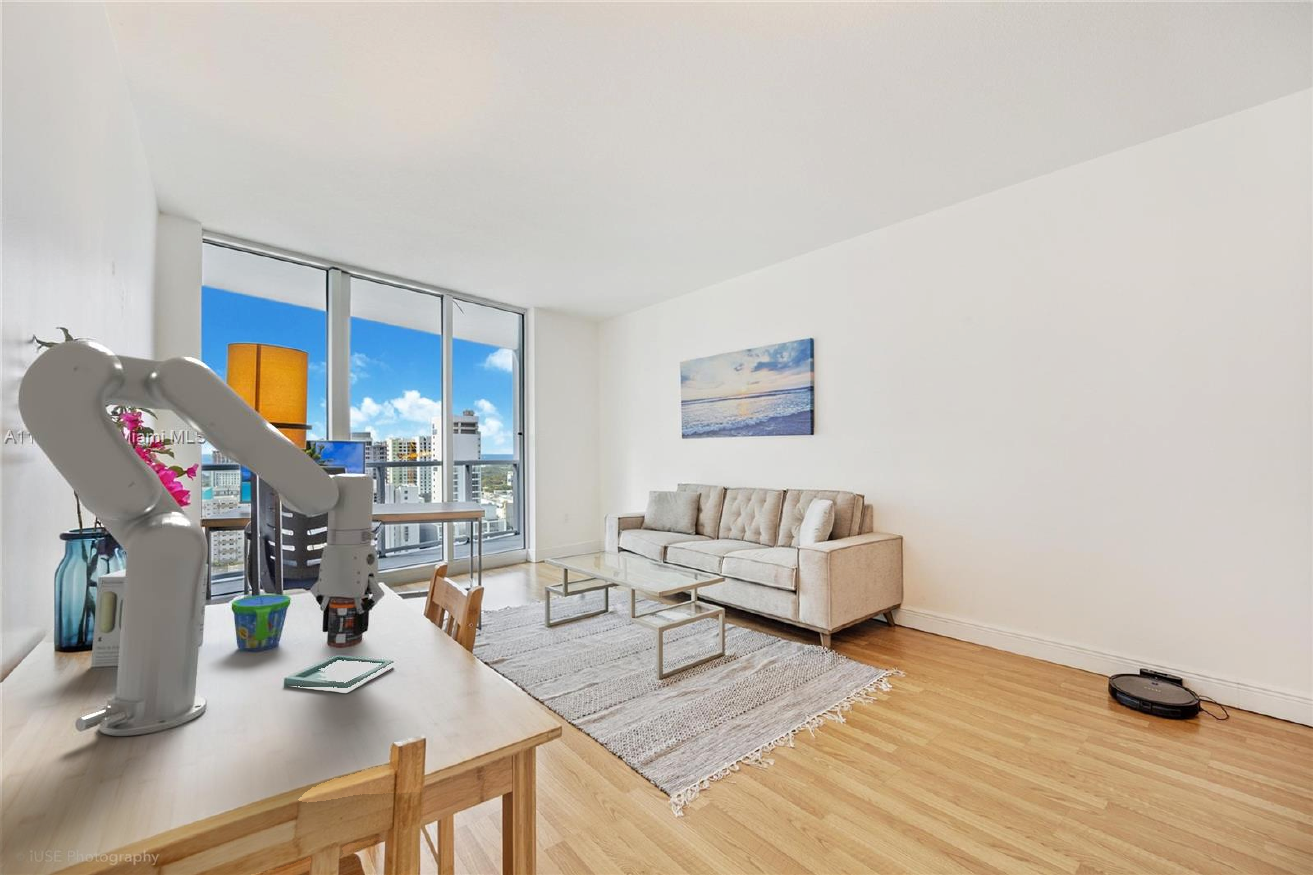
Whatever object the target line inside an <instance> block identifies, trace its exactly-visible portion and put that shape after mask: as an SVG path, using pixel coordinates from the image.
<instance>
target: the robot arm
mask: <svg viewBox="0 0 1313 875" xmlns="http://www.w3.org/2000/svg"><path fill="white" fill-rule="evenodd" d="M17 397H18V400H17V401H18V409H19V413H20V416H21V420H22V422H23V424H24V426H25V428H26V430H27V431H28V433H29V435H30V436H31V438H33V440H34V441H35V443H36V444H37V445H38V447H39V448H40V449H41V451H42V452H43V453H44V454H45V455H46V456H47V457H46V458H48V460H50V462H51V463H52V465H53V466H54V468H55V469H56V470H57V471H58V472H59V473H60V474H61V476H62V477H63V478H64V479H65V481H66V482H67V483H68V485H69V486H70V487H71V488H72V489H73V492H74V493H75V494H76V495H77V497H78V499H79V501H80V502H81V504H82V506H83V507H84V508H85V509H86V511H88V512H90V514H93V515H94V516H95V517H96V518H97V520H98V521H99V522H100V523H101V525H102V526H104V528H105V529H106V530H107V532H108V533H109V534H110V535H111V536H112V537H113V539H114V540H115V541H116V542H117V543H118V544H119V546H120V547H122V549H123V550H124V551H125V553H126V554H125V555H126V557H125V569H126V573H125V584H124V595H123V606H122V619H121V636H120V648H119V661H118V666H117V673H116V674H117V676H116V686H115V687H116V688H115V696H113V697H110V698H107V701H106V706H104V707H102V708H101V709H100V710H99V711H97V712H92V713H89V714H86V715H83V716H80V717H78V718H77V719H76V721H75V723H74V726H75V729H76V730H77V731H78V732H80V733H81V732H84V731H86V730H89V729H91V728H95V727H96V726H98V725H99V727H98V728H99V731H100V732H101V733H102V734H105V735H107V736H114V737H115V736H116V737H127V736H129V737H130V736H138V735H145V734H150V733H155V732H160V731H164V730H168V729H171V728H174V727H177V726H180V725H183V724H185V723H187V722H190V721H191V720H194V719H195V718H197V717H198V716H201V715H202V714H203V713H204V712H205V711H206V709H207V705H208V704H207V699H206V697H204V696H201V695H198V694H196V689H197V688H196V687H197V676H198V675H197V674H198V661H199V660H198V659H199V648H200V645H199V635H200V621H201V604H202V592H203V582H204V575H205V569H206V564H207V563H208V562H207V561H208V554H209V553H208V552H209V549H208V548H209V545H208V540H207V536H206V534H205V532H204V531H203V529H202V528H201V527H200V526H199V524H197V523H196V522H195V521H194V520H192V519H191V518H190V517H189V515H188V514H187V513H186V512H185V511H184V510H183V507H181V506H180V504H179V502H177V500H176V499H175V498H174V496H173V495H172V494H171V493H170V492H169V490H168V489H167V488H166V486H165V485H164V484H163V483H162V482H163V481H161V479H160V477H159V475H158V473H157V472H156V471H155V470H154V469H153V467H151V466H150V465H149V464H147V463H146V462H145V461H144V459H143V458H142V457H141V456H140V455H139V454H138V452H137V451H136V450H135V448H134V447H133V446H132V445H131V444H130V442H129V441H128V440H127V439H126V436H124V434H123V433H122V431H121V430H120V428H119V427H118V426H117V424H116V423H115V422H114V420H113V419H112V418H111V416H110V415H109V413H108V410H107V405H109V406H119V407H127V408H129V407H130V408H138V409H139V408H140V409H152V410H164V411H165V410H167V411H171V412H173V413H174V414H175V415H176V416H177V417H178V418H180V420H182V421H184V423H186V425H188V426H189V427H190V428H191V429H192V430H194V431H195V432H196V433H197V434H198V435H200V437H202V438H203V439H204V440H205V441H206V442H207V443H208V444H210V446H212V447H213V448H214V449H215V450H216V451H218V453H220V454H222V455H223V456H224V457H226V458H228V459H229V460H230V461H232V462H234V463H236V464H238V465H240V466H241V467H244V468H246V469H247V470H249V471H251V472H252V473H254V475H256V476H258V477H259V478H261V480H263V481H264V482H266V484H268V486H270V487H271V488H272V489H274V490H275V491H276V492H277V493H278V494H277V495H278V498H279V501H280V503H281V504H282V505H283V506H284V507H285V508H287V509H289V510H290V511H293V512H295V513H298V514H302V515H305V516H309V517H315V516H316V517H318V516H321V515H325V514H327V513H328V514H327V515H328V516H327V535H326V539H327V540H326V544H324V547H323V549H322V554H321V558H320V564H319V571H318V572H319V573H318V579H317V581H316V582H315V583H314V584H313V585H312V586H311V588H310V589H309V591H310V593H311V594H312V595H313V597H314V598H315V600H316V603H317V604H318V605H319V606H320V607H319V609H320V610H321V612H322V613H323V614H322V632H323V633H328V620H329V604H330V600H331V598H332V597H344V598H350V599H354V602H355V606H356V609H357V612H358V613H356V614H355V615H354V630H353V634H354V635H359V634H361V633H366V632H368V629H369V623H370V622H369V620H370V611H372V610H373V608H374V607H375V605H377V604H378V602H379V601H380V600H381V599H382V598H383V597H384V596H385V592H384V590H383V589H382V588H381V586H380V585H379V562H378V555H377V548H376V544H375V543H372V541H374V540H375V539H376V533H375V532H372V529H373V506H374V505H373V502H374V478H373V477H372V476H371V475H369V474H365V473H339V474H329V473H328V472H326V471H325V470H324V468H323V467H321V466H320V465H319V464H318V463H317V462H316V461H315V460H314V459H313V458H311V456H309V455H308V454H307V453H306V452H305V451H304V450H303V449H301V448H300V447H299V446H298V445H296V444H295V442H293V441H292V440H290V439H289V438H288V437H286V436H285V435H284V434H283V433H282V432H281V431H280V430H278V428H276V427H275V426H274V424H273V425H272V424H271V423H270V422H269V421H268V420H266V419H265V418H264V417H263V416H262V415H261V414H260V413H259V412H258V411H257V410H255V409H254V408H253V407H252V406H251V405H250V404H249V403H248V402H247V401H246V400H245V399H243V398H242V396H240V395H239V394H238V393H237V392H236V391H235V390H234V389H233V388H232V387H231V386H230V385H229V384H228V383H227V382H225V380H223V379H222V378H221V377H220V375H218V374H217V373H216V372H215V371H214V370H213V369H212V368H210V367H209V366H208V365H207V364H206V363H204V362H202V361H200V360H198V359H196V358H193V357H188V356H178V357H177V356H176V357H171V358H168V359H166V360H158V359H151V358H150V359H149V358H142V357H134V356H128V355H121V354H115V353H113V352H112V351H111V350H110V349H108V348H106V347H105V346H103V345H101V344H99V343H97V342H92V341H89V340H79V339H78V340H77V339H75V340H68V341H63V342H60V343H57V344H54V345H53V346H51V347H49V348H47V349H46V350H44V351H43V352H42V353H40V355H38V357H37V358H36V359H35V360H34V361H33V362H32V363H31V364H30V366H29V367H28V369H27V370H26V371H25V373H24V375H23V377H22V379H21V382H20V385H19V390H18V396H17ZM370 595H372V596H371V597H370ZM362 599H363V603H364V604H363V603H362Z"/></svg>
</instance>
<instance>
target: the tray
mask: <svg viewBox="0 0 1313 875" xmlns="http://www.w3.org/2000/svg"><path fill="white" fill-rule="evenodd" d="M337 660H342V661H344V660H346V661H359V662H360V661H361V662H370V663H371V662H372V663H382V664H381V665H379V666H378V667H376V668H374V669H372V670H370V671H368V672H366V673H364V674H362V675H360V676H358V677H356V678H354V679H352V680H350V681H348V682H346V683H344V682H336V681H327V680H321V679H318V678H326V677H325V676H324V677H322V676H321V675H320V674H318V673H325V671H324V672H323V671H321V670H319V669H321V668H325V667H326V666H328V665H329V664H332V663H333V662H336V661H337ZM393 662H394V663H395V660H391V659H379V658H371V657H363V656H362V657H361V656H353V655H343V654H336V655H334V656H331V657H329V658H326V659H324V660H322V661H320V662H318V663H316V664H313V665H310V666H308V667H306V668H303V669H302V670H301V669H300V670H299V671H297V672H294V673H293V674H291V675H290V674H289V675H287V676H286V677H284V678H283V687H285V686H297V687H298V686H300V687H333V688H334V687H337V688H348V687H351V686H352V685H354V684H356V683H357V682H360V681H361V680H363V679H364V678H367V677H368V676H370V675H371V674H373V673H376V672H377V671H378V670H380V669H382V668H385V667H386V666H387V665H389V664H391V663H393ZM317 674H318V675H317Z"/></svg>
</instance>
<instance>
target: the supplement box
mask: <svg viewBox="0 0 1313 875" xmlns="http://www.w3.org/2000/svg"><path fill="white" fill-rule="evenodd" d="M208 572H209V564H207V563H206V569H205V575H204V582H203V592H202V604H201V621H200V635H199V646H201V645H202V644H203V643H204V627H205V616H206V615H205V614H206V613H205V611H206V601H207V600H206V598H207V585H208V574H209V573H208ZM125 573H126V568H123V569H119V570H118V571H113V572H110V573H107V574H103V575H100V576H98V577H97V589H96V590H97V591H96V601H95V611H94V612H95V613H94V624H93V625H94V627H93V628H94V629H93V637H92V651H91V661H90V662H91V664H90V667H91V668H102V667H118V661H119V648H120V636H121V619H122V606H123V595H124V584H125Z"/></svg>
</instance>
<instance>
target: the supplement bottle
mask: <svg viewBox="0 0 1313 875" xmlns="http://www.w3.org/2000/svg"><path fill="white" fill-rule="evenodd" d="M362 603H363V599H362ZM363 604H364V603H363ZM356 613H358V612H357V609H356V606H355V602H354V599H350V598H344V597H332V598H331V600H330V604H329V620H328V632H327V634H328V637H327V638H326V639H327V642H326V643H327V646H328V647H331V648H333V649H343V648H345V649H346V648H351V647H355V646H357V645H359V644H361V642H362V641H363V637H364V636H363V633H361V634H359V635H354V634H353V630H354V615H355V614H356Z"/></svg>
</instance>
